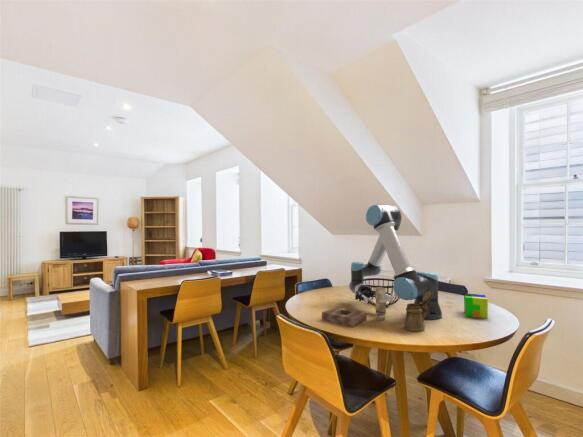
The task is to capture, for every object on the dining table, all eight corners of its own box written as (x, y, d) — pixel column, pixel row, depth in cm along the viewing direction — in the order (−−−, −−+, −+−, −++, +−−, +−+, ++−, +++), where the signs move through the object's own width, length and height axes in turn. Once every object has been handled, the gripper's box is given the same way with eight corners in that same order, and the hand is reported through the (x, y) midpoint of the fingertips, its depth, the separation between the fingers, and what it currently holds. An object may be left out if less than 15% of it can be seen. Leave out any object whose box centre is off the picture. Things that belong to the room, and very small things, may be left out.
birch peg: (387, 319, 163) (387, 288, 164) (383, 321, 160) (383, 289, 160) (378, 317, 167) (377, 286, 167) (374, 319, 163) (373, 288, 163)
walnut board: (366, 320, 162) (366, 312, 162) (353, 327, 151) (352, 318, 151) (336, 313, 173) (336, 306, 174) (321, 319, 163) (321, 312, 163)
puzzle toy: (485, 313, 173) (484, 295, 173) (487, 318, 164) (487, 299, 164) (464, 311, 177) (464, 293, 177) (465, 316, 168) (465, 297, 168)
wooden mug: (437, 331, 144) (437, 292, 145) (408, 332, 144) (407, 292, 144) (428, 325, 153) (428, 288, 154) (401, 325, 153) (400, 288, 153)
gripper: (383, 296, 187) (401, 305, 166) (343, 298, 182) (356, 308, 162) (383, 283, 187) (401, 291, 166) (343, 285, 183) (356, 293, 162)
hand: (379, 299), depth 164 cm, fingers open, 13 cm apart
